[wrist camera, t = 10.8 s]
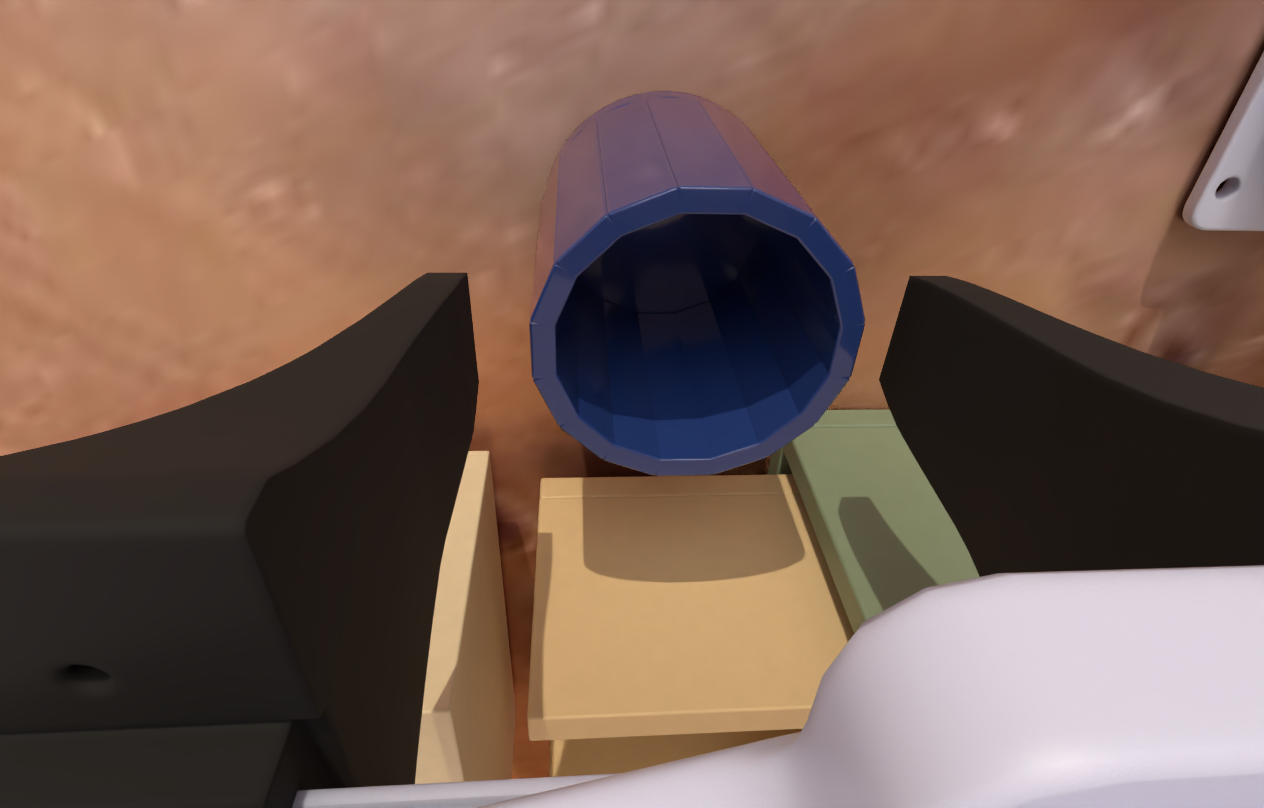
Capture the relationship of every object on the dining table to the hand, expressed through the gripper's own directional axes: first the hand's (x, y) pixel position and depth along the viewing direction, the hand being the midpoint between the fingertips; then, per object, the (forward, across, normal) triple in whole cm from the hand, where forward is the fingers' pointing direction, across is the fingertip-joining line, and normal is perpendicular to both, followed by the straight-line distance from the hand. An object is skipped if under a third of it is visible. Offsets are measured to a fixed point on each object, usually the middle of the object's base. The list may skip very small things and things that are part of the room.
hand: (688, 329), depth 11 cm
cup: (+5, 0, 0) cm, 5 cm away
